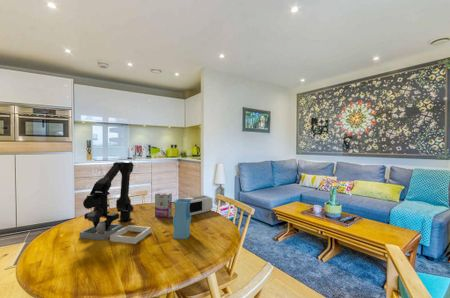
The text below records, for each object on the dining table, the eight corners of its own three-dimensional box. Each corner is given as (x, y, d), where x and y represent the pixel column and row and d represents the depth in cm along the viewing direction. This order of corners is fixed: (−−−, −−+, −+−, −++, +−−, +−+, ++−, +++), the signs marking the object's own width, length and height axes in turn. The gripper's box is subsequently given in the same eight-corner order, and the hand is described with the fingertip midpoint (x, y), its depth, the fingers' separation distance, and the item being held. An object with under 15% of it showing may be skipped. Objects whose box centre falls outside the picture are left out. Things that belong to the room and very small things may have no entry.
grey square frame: (100, 227, 132) (100, 222, 132) (122, 229, 129) (122, 224, 129) (79, 237, 117) (79, 232, 117) (103, 240, 114) (103, 234, 114)
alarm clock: (181, 218, 149) (181, 201, 149) (174, 215, 156) (175, 199, 156) (212, 211, 166) (212, 196, 166) (205, 208, 174) (205, 193, 173)
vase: (186, 239, 116) (186, 202, 116) (172, 238, 118) (172, 201, 117) (191, 233, 124) (191, 199, 124) (178, 232, 125) (178, 198, 125)
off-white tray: (128, 230, 128) (128, 225, 128) (151, 232, 125) (151, 227, 125) (109, 241, 113) (109, 235, 113) (135, 243, 110) (135, 238, 110)
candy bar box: (172, 216, 154) (172, 193, 154) (168, 218, 149) (168, 194, 149) (158, 214, 157) (158, 192, 157) (154, 216, 153) (154, 193, 152)
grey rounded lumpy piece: (110, 231, 127) (110, 219, 127) (104, 236, 120) (104, 223, 120) (99, 231, 126) (99, 219, 126) (93, 236, 119) (92, 223, 119)
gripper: (75, 206, 117) (75, 235, 117) (105, 208, 113) (105, 238, 113) (92, 201, 128) (92, 227, 128) (119, 203, 124) (119, 230, 124)
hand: (101, 230), depth 123 cm, fingers closed on grey rounded lumpy piece, 6 cm apart
